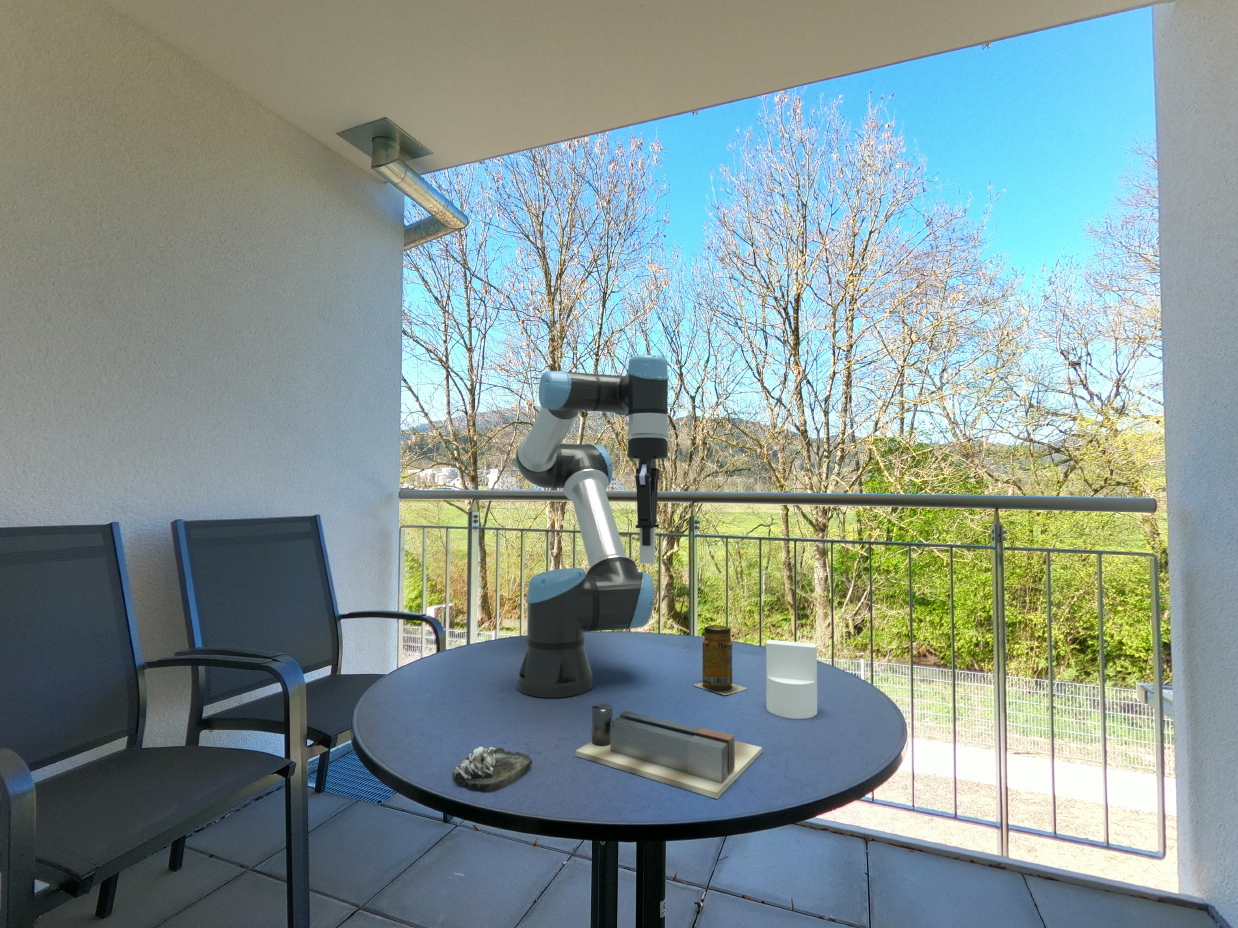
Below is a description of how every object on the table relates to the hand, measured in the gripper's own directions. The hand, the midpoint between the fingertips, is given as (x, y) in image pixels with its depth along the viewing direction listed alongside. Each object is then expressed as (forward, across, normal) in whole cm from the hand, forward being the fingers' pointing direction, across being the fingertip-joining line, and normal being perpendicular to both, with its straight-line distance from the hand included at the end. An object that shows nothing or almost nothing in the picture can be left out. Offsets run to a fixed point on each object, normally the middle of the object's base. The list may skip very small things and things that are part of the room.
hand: (647, 562), depth 114 cm
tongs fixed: (+26, +23, +5) cm, 35 cm away
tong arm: (+25, +23, +8) cm, 35 cm away
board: (+26, +20, +7) cm, 34 cm away
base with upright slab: (+27, -4, +26) cm, 38 cm away
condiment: (+27, -14, +13) cm, 33 cm away
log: (+27, +31, -17) cm, 44 cm away
